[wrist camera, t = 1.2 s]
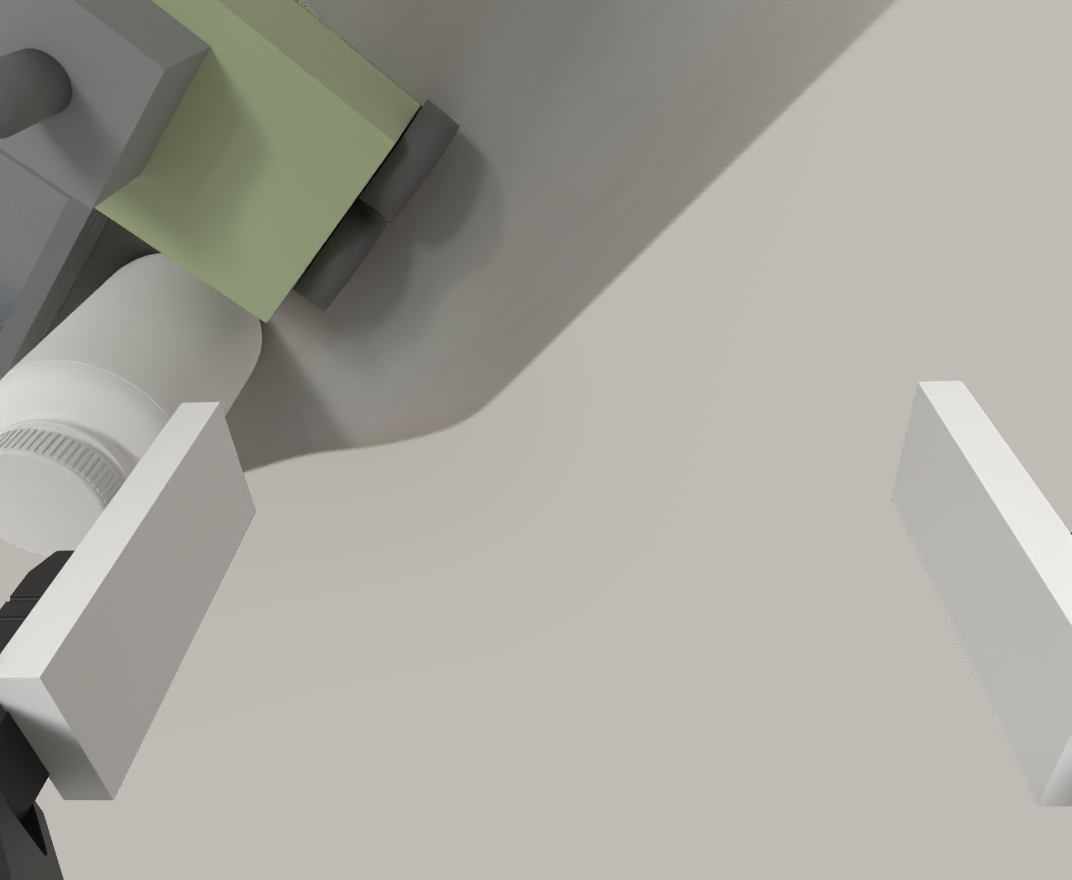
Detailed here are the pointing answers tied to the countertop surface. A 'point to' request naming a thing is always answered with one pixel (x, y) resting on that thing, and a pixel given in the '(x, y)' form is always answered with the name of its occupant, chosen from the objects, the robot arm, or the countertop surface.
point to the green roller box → (217, 134)
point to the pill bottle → (112, 395)
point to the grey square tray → (37, 255)
